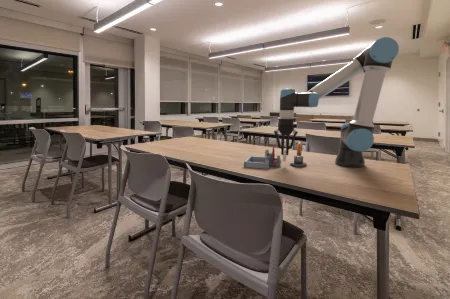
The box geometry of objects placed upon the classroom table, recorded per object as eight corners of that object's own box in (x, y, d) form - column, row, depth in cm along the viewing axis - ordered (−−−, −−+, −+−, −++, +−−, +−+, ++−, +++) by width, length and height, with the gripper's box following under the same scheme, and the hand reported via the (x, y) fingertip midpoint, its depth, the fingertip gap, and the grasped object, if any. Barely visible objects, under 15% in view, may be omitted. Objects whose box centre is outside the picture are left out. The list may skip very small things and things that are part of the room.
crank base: (306, 163, 147) (306, 161, 147) (306, 167, 138) (306, 165, 138) (290, 162, 150) (290, 160, 149) (289, 166, 141) (289, 164, 141)
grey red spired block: (284, 163, 136) (271, 146, 137) (268, 174, 140) (255, 157, 140) (285, 159, 147) (273, 143, 147) (270, 169, 151) (258, 153, 151)
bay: (272, 162, 151) (272, 157, 150) (268, 168, 136) (268, 163, 135) (250, 160, 155) (250, 156, 154) (244, 167, 140) (244, 161, 139)
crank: (302, 164, 141) (303, 145, 139) (293, 163, 142) (294, 145, 140) (303, 159, 153) (304, 142, 151) (294, 159, 154) (295, 142, 152)
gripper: (299, 118, 138) (296, 160, 143) (275, 117, 142) (273, 158, 146) (298, 118, 131) (296, 163, 136) (273, 118, 135) (271, 161, 139)
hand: (284, 160), depth 141 cm, fingers closed
